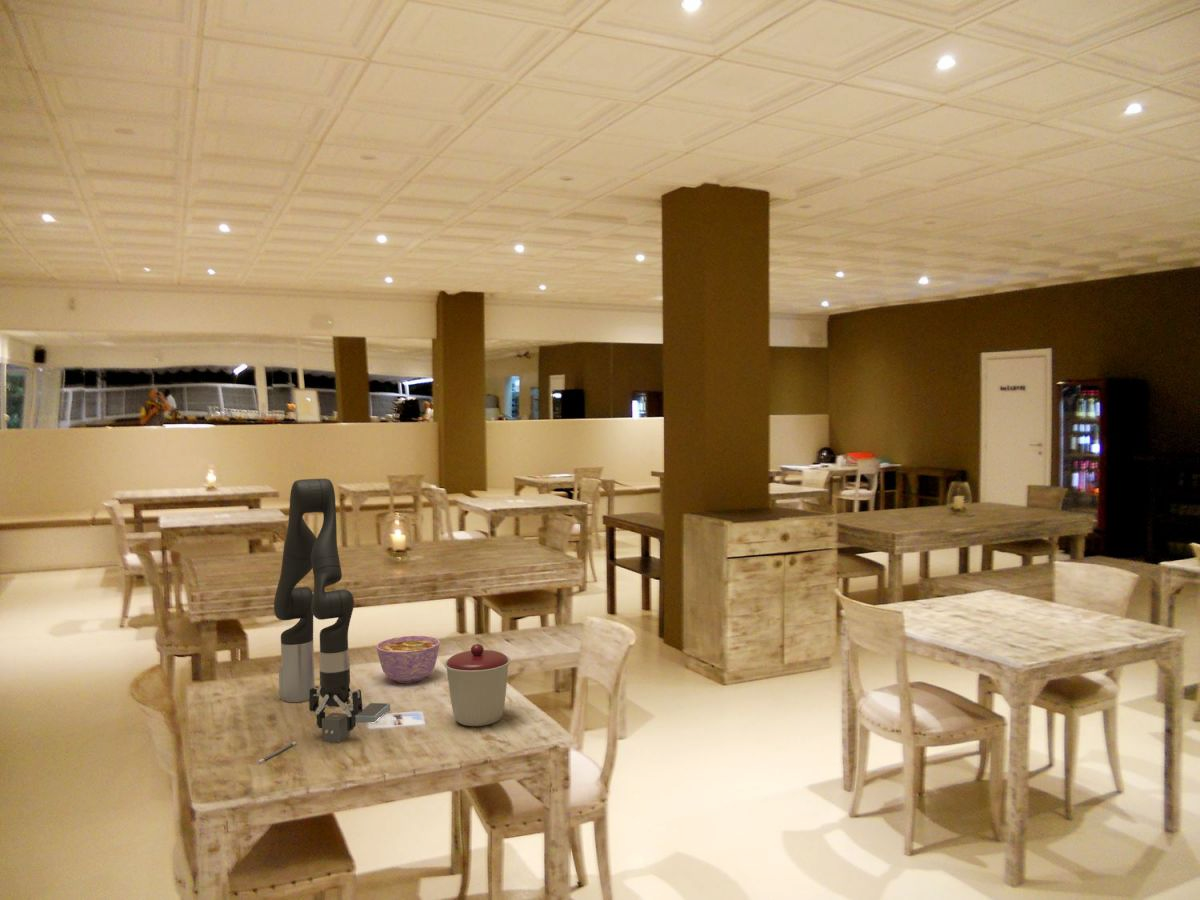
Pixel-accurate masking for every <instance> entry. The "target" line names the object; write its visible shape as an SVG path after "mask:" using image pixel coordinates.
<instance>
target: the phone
mask: <svg viewBox="0 0 1200 900" xmlns="http://www.w3.org/2000/svg"><path fill="white" fill-rule="evenodd" d="M362 709H363V711H362V712H361V713H359V714H358V715H356V716H355V717H356V723H362V722H375V721H376V720H377V719H378V718H379V717H381V716H382V715H383V714H384V715H386V714H387V713H388V712H389V711H390V710H391V703H390V702H388V703H387V702H369V703H368V704H367V705H365V706H364V707H362ZM387 711H388V712H387ZM386 712H387V713H386ZM385 713H386V714H385ZM384 715H383V716H384ZM383 716H382V717H383ZM382 717H381V718H382ZM376 722H377V721H376ZM376 722H375V723H376Z"/></svg>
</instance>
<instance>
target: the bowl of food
mask: <svg viewBox="0 0 1200 900" xmlns="http://www.w3.org/2000/svg"><path fill="white" fill-rule="evenodd" d="M440 640H441V639H438V638H436V637H432V636H426V635H407V636H405V635H403V636H398V637H393V638H388V639H386V640H381V641H380V642H378V643H377V644H376V652H377V655H378V659H379V662H380V666H381V669H382V671H383V673H384V675H385V676H386V677H388V678H390V680H391V679H392V680H394V681H395V682H397V683H400V684H411V683H412V682H413V683H416V681H417V682H420V681H422V680H423V679H424V678H426V677H428V676H429V675H430V674H431V673H432V672H433V671H434V669H435V666H436V663H437V659H438V655H439V649H440V644H441V641H440ZM419 680H420V681H419Z"/></svg>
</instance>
